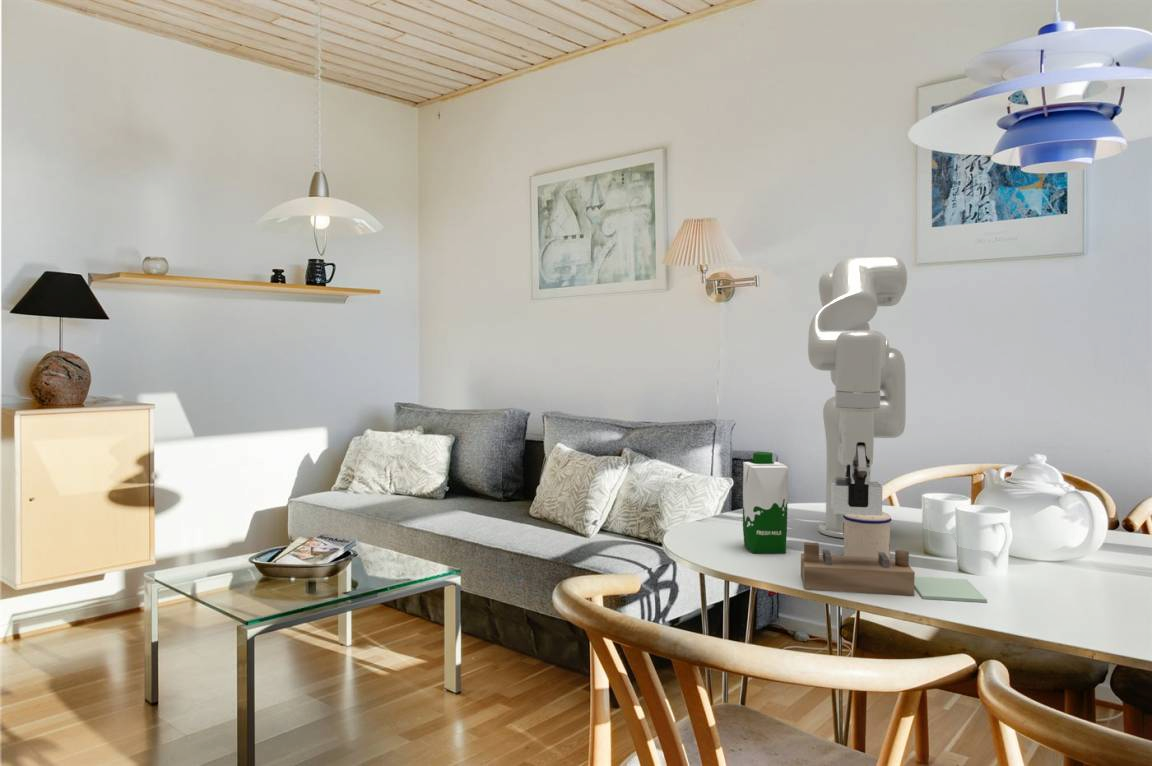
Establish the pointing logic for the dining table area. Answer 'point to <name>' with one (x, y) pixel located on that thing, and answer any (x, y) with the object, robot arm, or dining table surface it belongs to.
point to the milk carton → (765, 504)
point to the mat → (947, 589)
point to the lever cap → (842, 498)
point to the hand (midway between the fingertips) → (855, 502)
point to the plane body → (856, 572)
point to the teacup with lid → (866, 535)
